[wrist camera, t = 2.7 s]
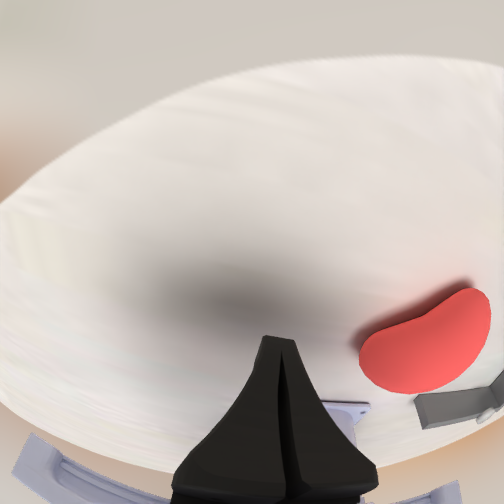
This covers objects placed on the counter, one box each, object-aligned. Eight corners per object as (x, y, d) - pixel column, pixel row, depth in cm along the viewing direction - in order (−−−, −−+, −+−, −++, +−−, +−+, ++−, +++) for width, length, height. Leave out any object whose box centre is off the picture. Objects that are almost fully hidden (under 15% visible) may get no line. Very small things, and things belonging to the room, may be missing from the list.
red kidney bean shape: (446, 332, 17) (503, 349, 11) (360, 394, 16) (412, 439, 10) (436, 274, 17) (501, 280, 11) (342, 335, 16) (404, 371, 9)
